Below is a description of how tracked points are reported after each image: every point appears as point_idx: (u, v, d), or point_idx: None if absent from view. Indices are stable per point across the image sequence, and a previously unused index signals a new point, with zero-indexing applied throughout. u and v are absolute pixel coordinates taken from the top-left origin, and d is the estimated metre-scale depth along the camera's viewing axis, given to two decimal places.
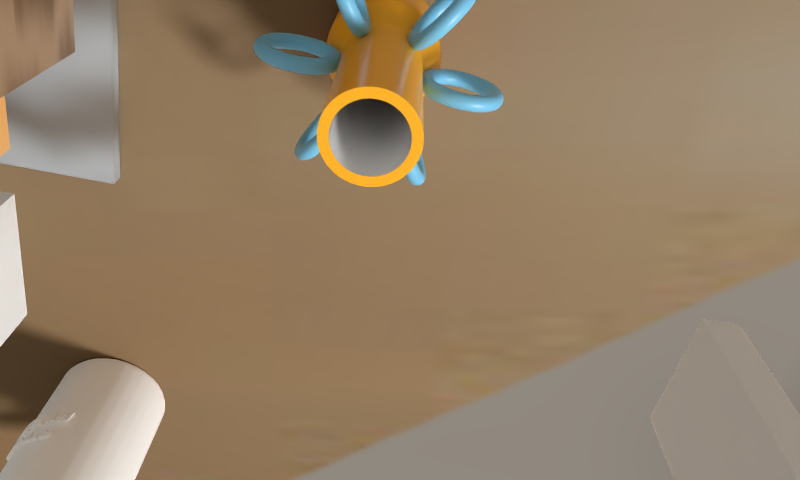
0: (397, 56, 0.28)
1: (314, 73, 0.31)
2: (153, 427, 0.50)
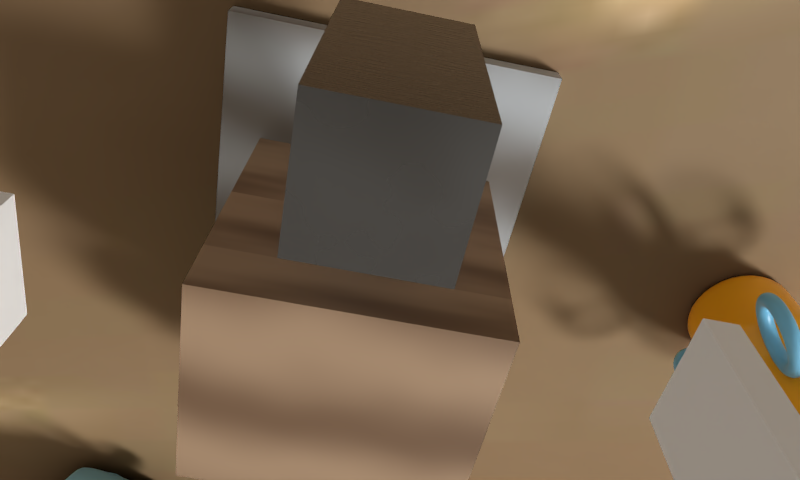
0: None
1: None
2: None
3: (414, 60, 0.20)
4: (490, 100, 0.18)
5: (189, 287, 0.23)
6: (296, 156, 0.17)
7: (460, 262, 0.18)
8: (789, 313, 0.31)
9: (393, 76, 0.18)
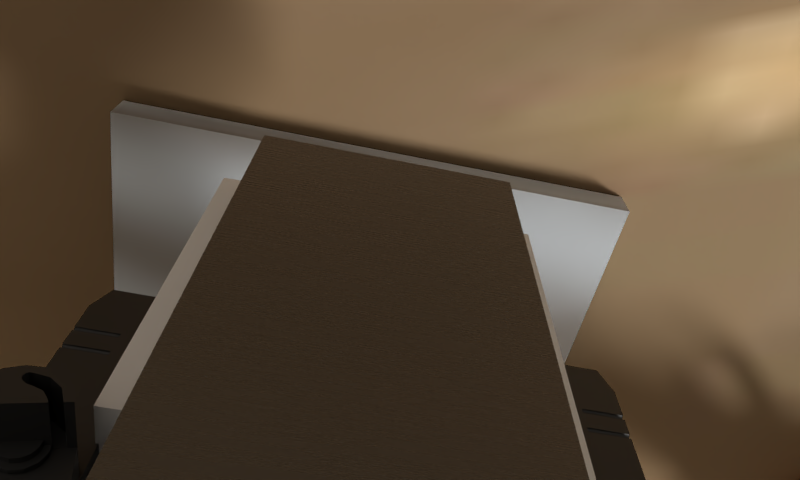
0: None
1: None
2: None
3: (392, 365, 0.08)
4: None
5: None
6: None
7: None
8: None
9: None
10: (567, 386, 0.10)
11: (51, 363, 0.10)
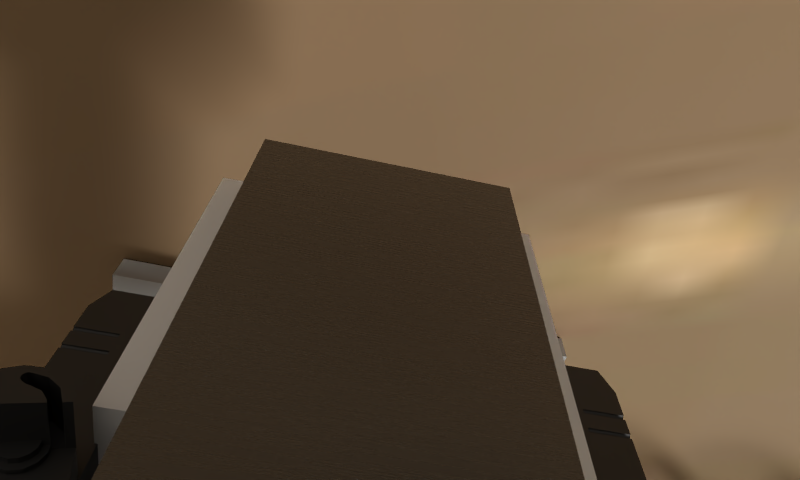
0: None
1: None
2: None
3: (391, 372, 0.08)
4: None
5: None
6: None
7: None
8: None
9: None
10: (568, 386, 0.10)
11: (50, 363, 0.10)
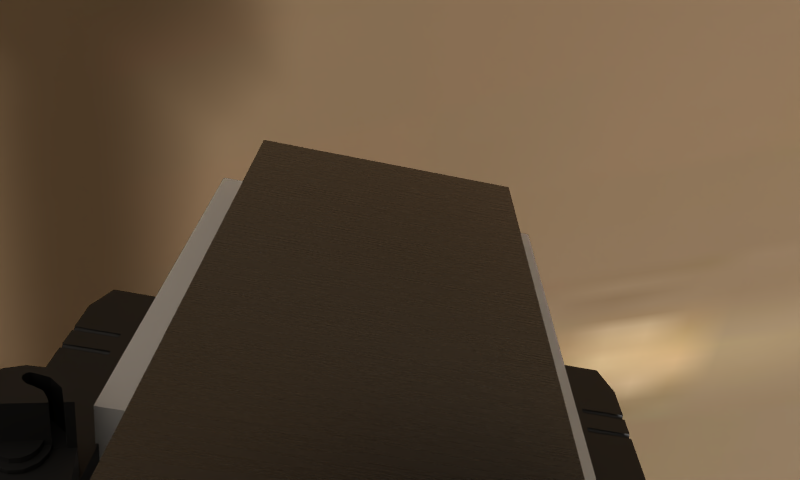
0: None
1: None
2: None
3: (391, 373, 0.08)
4: None
5: None
6: None
7: None
8: None
9: None
10: (567, 386, 0.10)
11: (51, 363, 0.10)
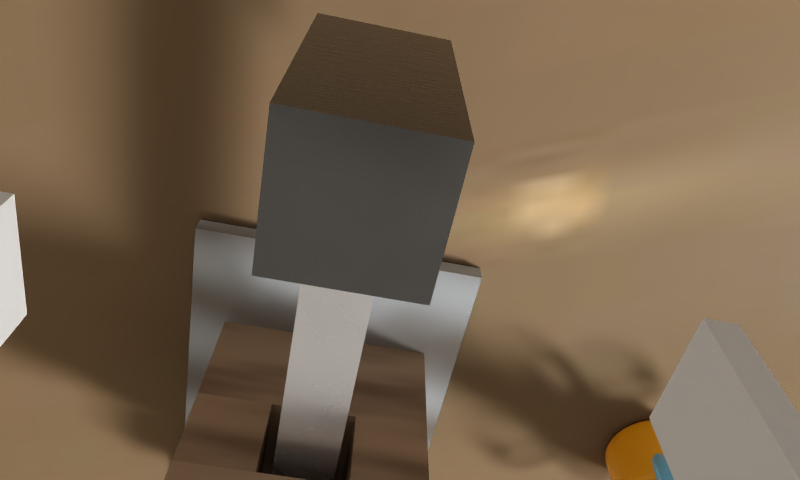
0: None
1: None
2: None
3: (388, 77, 0.20)
4: (463, 117, 0.18)
5: None
6: (269, 174, 0.17)
7: (435, 278, 0.18)
8: (673, 479, 0.37)
9: (367, 93, 0.18)
10: None
11: None
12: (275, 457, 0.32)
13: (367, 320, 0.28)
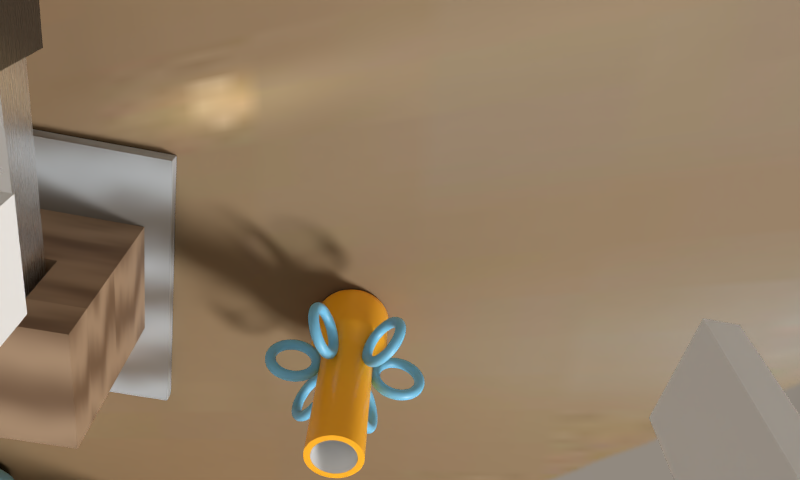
0: (352, 386, 0.47)
1: (303, 380, 0.49)
2: None
3: None
4: None
5: None
6: None
7: None
8: (314, 316, 0.48)
9: None
10: None
11: None
12: None
13: (7, 163, 0.39)
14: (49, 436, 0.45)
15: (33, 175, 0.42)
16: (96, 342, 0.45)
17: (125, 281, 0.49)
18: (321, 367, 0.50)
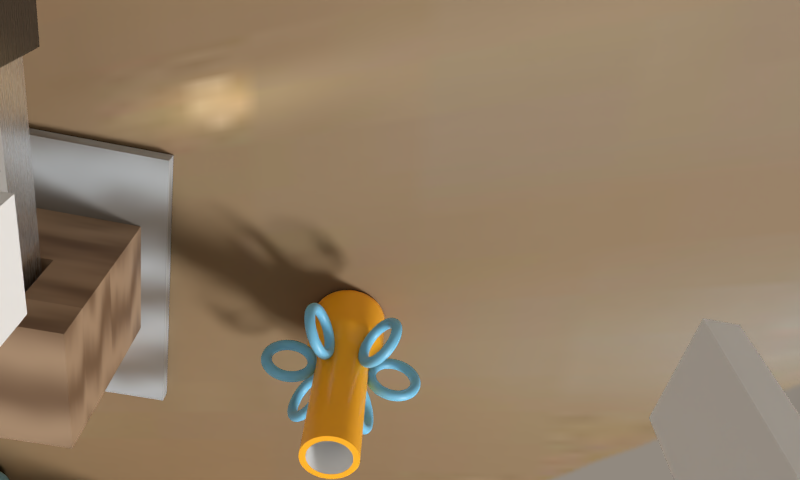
0: (348, 387, 0.47)
1: None
2: None
3: None
4: None
5: None
6: None
7: None
8: (310, 316, 0.48)
9: None
10: None
11: None
12: None
13: (3, 162, 0.39)
14: (44, 436, 0.45)
15: (29, 174, 0.42)
16: (91, 342, 0.45)
17: (121, 281, 0.49)
18: (317, 368, 0.49)
